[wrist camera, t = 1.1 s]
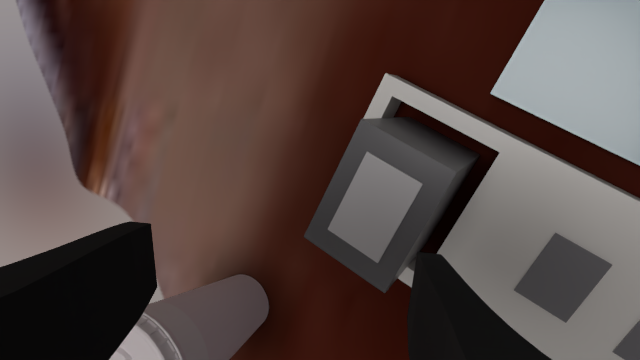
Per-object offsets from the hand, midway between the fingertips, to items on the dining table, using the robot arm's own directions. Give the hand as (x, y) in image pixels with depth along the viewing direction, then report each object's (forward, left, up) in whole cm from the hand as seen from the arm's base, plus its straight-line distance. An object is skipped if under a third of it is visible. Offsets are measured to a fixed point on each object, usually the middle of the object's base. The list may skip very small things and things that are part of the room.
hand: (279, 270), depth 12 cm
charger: (0, -1, -13) cm, 13 cm away
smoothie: (+6, +12, -13) cm, 19 cm away
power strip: (-5, -1, -13) cm, 14 cm away
